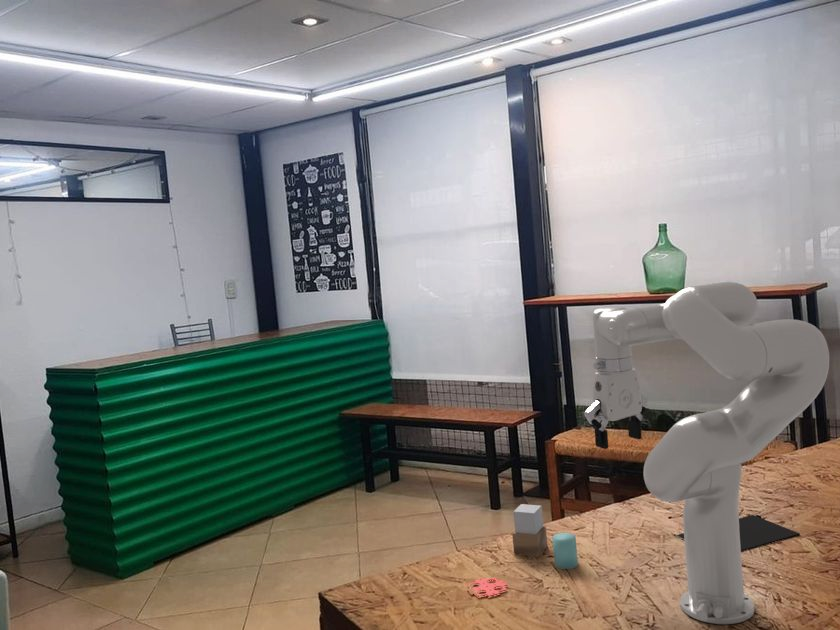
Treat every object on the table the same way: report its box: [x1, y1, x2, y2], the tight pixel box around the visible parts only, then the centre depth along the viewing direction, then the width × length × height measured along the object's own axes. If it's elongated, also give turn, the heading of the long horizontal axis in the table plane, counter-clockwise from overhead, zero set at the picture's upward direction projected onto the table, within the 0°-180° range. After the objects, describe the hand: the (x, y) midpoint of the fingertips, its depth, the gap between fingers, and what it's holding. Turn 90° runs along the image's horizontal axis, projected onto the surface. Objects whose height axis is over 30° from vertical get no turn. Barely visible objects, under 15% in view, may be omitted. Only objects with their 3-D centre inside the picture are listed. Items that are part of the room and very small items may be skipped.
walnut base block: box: [511, 525, 548, 558], centre depth 167 cm, size 6×6×5 cm
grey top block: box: [513, 503, 544, 535], centre depth 167 cm, size 5×5×5 cm
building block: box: [468, 577, 508, 597], centre depth 150 cm, size 1×8×8 cm
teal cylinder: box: [552, 532, 579, 570], centre depth 158 cm, size 5×5×6 cm
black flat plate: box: [673, 514, 801, 552], centre depth 164 cm, size 23×1×15 cm
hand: (618, 442), depth 155 cm, fingers open, 9 cm apart
